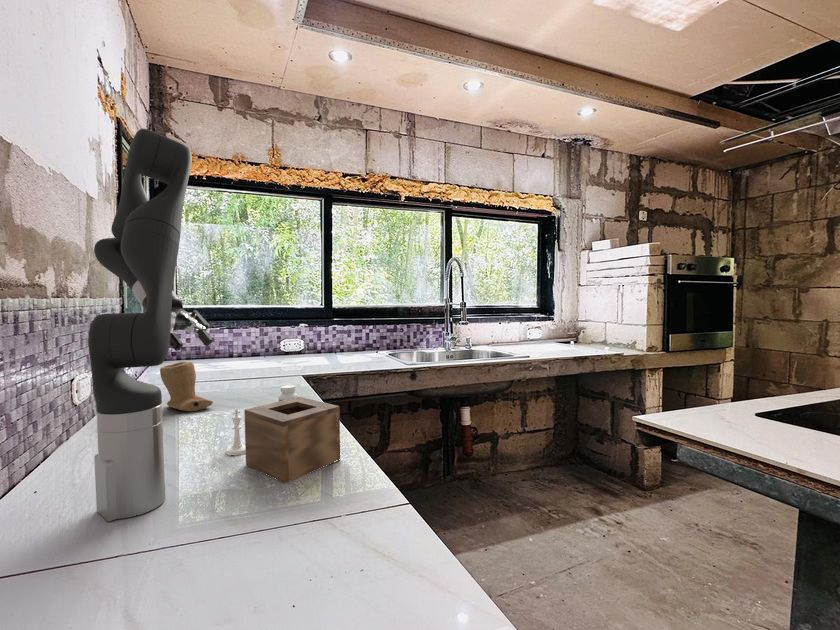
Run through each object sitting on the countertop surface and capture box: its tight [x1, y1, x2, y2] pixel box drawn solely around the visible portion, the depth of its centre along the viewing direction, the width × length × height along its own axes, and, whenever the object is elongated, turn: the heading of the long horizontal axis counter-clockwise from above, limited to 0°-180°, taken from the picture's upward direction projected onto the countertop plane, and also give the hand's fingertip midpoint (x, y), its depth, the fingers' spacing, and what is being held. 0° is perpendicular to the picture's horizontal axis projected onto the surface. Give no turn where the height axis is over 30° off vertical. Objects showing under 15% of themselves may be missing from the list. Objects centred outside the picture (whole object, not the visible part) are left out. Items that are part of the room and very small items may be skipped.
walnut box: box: [243, 396, 341, 484], centre depth 91 cm, size 14×14×12 cm
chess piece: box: [225, 408, 246, 456], centre depth 98 cm, size 5×5×10 cm
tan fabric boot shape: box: [159, 360, 214, 412], centre depth 135 cm, size 15×12×15 cm
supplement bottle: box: [278, 384, 299, 402], centre depth 123 cm, size 5×5×10 cm
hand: (195, 346), depth 101 cm, fingers open, 8 cm apart
